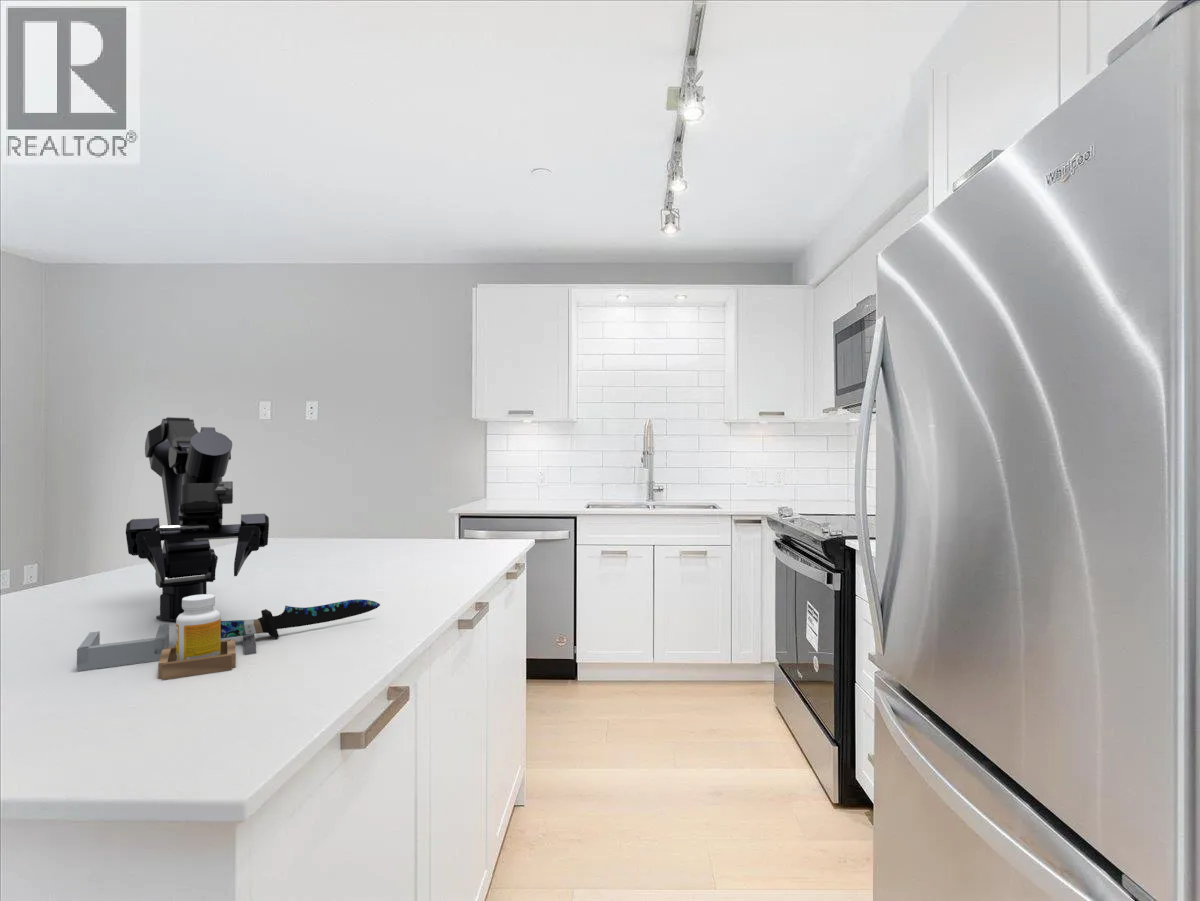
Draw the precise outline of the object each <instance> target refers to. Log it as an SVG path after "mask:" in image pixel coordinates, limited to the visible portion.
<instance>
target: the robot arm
mask: <svg viewBox="0 0 1200 901" xmlns="http://www.w3.org/2000/svg"><path fill="white" fill-rule="evenodd" d="M161 419H162V420H161V422H160V424H159V425H157V426H156V427H153V428H152V429H150V430H149V431H147V434H146V438H145V442H144V457H145V458H148V460H149V465H150V466H149V467H150V469H151V470H152V471H153V472H154V473H156V474H157V475H158V476H159V477H160V478H161V481H162V482H161V483H162V490H163V497H164V505H165V507H164V508H165V514H166V520H167V522H166V523H167V525H161V526H160V518H159V517H154V518H153V517H152V518H151V517H150V518H132V519H130V520H129V521H128V522H127V523H126V524H125V525H126V526H125V538H126V546H127V552H128V555H131V556H135V557H136V556H138V559H143V560H144V559H145V560H147V561H148V562H149V563H150V565H151V566H152V567H153V568H154V570H155V573H154V574H155V585H156V586H157V587H158V588H159V589H160V588H161V589H162V593H161V594H160V595H159V615H156V616H155V617H156V619H157V620H163V621H164V620H165V621H171V622H176V619H177V617H178V616H179V615H180V614H181V613H183V612H184V609H182V599H183V598H184V597H188V596H193V595H201V594H207V583H213V582H214V581H216V570H217V563H218V559H219V558H218V555H216V553H215V550H214V548H211V544H210V540H223V539H237V542H236V550H235V556H234V563H233V577H238V575H239V573H240V571H241V569H242V568H243V565H244V564H245V561H246V560H247V559H248V557H249V556H250V555H251V554H252V552H257V551H259V549H260V548H265V547H266V546H268V545H269V544H268V543H269V533H270V532H269V530H270V520H269V516H268V515H267V514H266V513H245V514H240V523H234V524H223V519H224V517H223V514H224V512H223V511H224V510H223V509H224V505H229V504H230V505H231V504H234V503H233V501H234V498H233V497H234V491H233V489H234V488H233V481H232V480H231V481H228V480H227V481H223V477H224V476H225V475H226V473H227V470H228V465H229V461H231V459H232V454H231V453H232V448H233V441H232V439H230V438H229V437H228V436H227V435H225V434H223V433H222V432H218V431H216V428H215V427H213V426H212V427H207V426H206V427H205V426H204V427H202V426H201V427H200V431H198V430H197V428H196V427H195V421H194V419H191V418H189V417H170V416H169V417H166V418H161ZM162 541H163V544H162Z"/></svg>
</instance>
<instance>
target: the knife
mask: <svg viewBox="0 0 1200 901" xmlns="http://www.w3.org/2000/svg"><path fill="white" fill-rule="evenodd" d="M380 606H381V603H379V602H378V601H374V600H370V599H348V600H344V601H343V600H341V601H338V602H332V603H327V604H322V605H315V606H309V607H299V606H298V607H297V606H289V605H285V606H284V610H283V612H282V613H280V614H278V615H273V613H272V611H270V610H268V609H266V608H265V609H263V610H261V611H260V612H261V617H258V618H256V619H255V618H254V619H237V620H221V640H222V639H229V638H235V637H236V638H237V637H243V636H244V635H251V634H254V635H259V634H268V636H269V637H271V638H272V639H274V638H275V639H274V640H277V639H278V638H280V635H279V631H278V630H281V629H282V630H284V629H288V628H290V629H291V628H298V627H299V628H300V627H305V626H310V625H311V626H312V625H317V624H323V623H329V622H332V621H338V620H344V619H346V618H351V617H354V616H358V615H362V614H365V613H368V612H371V611H373V610H376V609H377V608H380Z"/></svg>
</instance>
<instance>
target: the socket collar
mask: <svg viewBox="0 0 1200 901" xmlns="http://www.w3.org/2000/svg"><path fill="white" fill-rule="evenodd" d="M236 654H237V652H236V640H232V639H229V638H228V639H223V640H222V639H221V655H217V656H209V657H202V658H194V659H187V660H180V661H176V645H175V646H168V647H167V649H164V650H162V653H161V656H160V659H159V661H158V665H157V666H158V667H157V672H158V674H157V679H161V680H162V681H163V680H164V681H165V680H166V681H167V680H173V679H177V678H179V679H180V678H184V677H191V676H199V674H200V675H204V674H205V675H206V673H207V674H211V673H212V672H213V673H218V672H219V671H220V672H226V671H225V670H227V671H232V670H233V668H236V663H237V662H236V659H237V657H236V656H237V655H236ZM213 673H212V674H213Z"/></svg>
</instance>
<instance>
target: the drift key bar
mask: <svg viewBox="0 0 1200 901" xmlns="http://www.w3.org/2000/svg"><path fill="white" fill-rule="evenodd" d="M242 648H243V655H244V654H246V655H252V654H251V653H253V654H257V644H256V639H255V634H251V635H244V636H242Z"/></svg>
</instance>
